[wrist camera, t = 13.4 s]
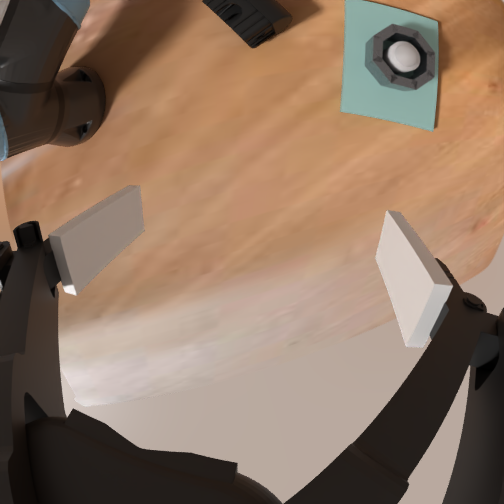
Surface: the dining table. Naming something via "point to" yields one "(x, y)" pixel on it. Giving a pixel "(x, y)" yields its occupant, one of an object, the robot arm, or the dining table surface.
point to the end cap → (252, 18)
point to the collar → (382, 69)
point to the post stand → (396, 57)
